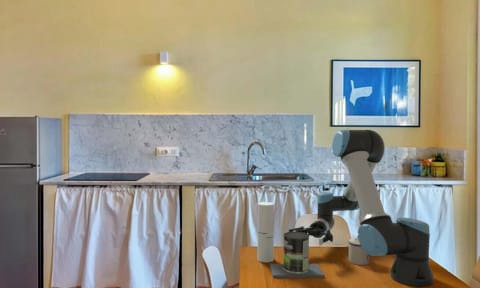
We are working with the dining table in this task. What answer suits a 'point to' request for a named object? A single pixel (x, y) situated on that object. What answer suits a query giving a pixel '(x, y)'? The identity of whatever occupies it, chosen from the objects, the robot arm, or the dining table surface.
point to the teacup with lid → (357, 253)
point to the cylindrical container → (265, 232)
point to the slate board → (281, 273)
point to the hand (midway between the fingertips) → (304, 239)
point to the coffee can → (296, 252)
